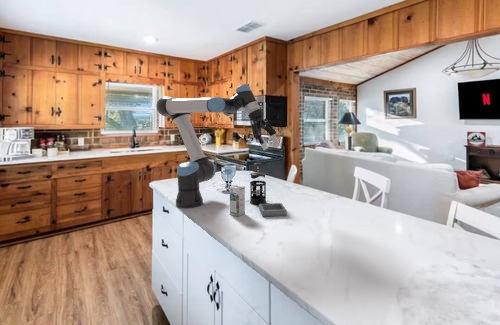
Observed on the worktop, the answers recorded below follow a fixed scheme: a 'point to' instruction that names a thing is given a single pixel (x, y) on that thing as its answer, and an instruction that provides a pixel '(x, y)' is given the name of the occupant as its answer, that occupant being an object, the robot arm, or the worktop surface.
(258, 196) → the french press
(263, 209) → the tray
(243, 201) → the syrup box
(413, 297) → the worktop surface
